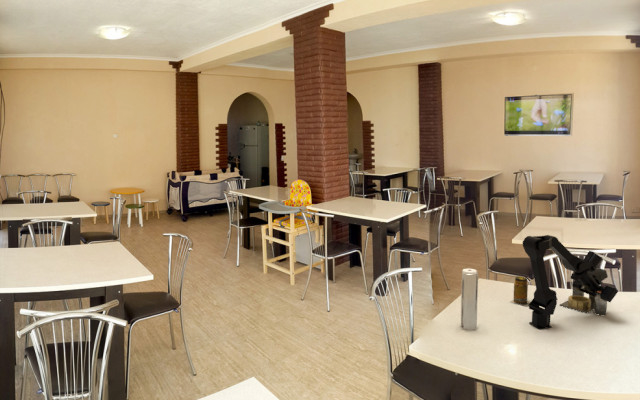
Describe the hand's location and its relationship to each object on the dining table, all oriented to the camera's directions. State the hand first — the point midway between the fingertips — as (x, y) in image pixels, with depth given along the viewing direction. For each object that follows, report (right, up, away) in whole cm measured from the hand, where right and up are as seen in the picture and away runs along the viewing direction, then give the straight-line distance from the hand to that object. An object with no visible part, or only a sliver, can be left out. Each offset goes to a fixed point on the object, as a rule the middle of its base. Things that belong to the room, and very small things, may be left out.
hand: (603, 298), depth 207 cm
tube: (-1, -7, +1) cm, 7 cm away
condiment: (-29, -5, +16) cm, 34 cm away
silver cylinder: (-63, -10, -10) cm, 64 cm away
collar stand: (-5, -5, +10) cm, 12 cm away
